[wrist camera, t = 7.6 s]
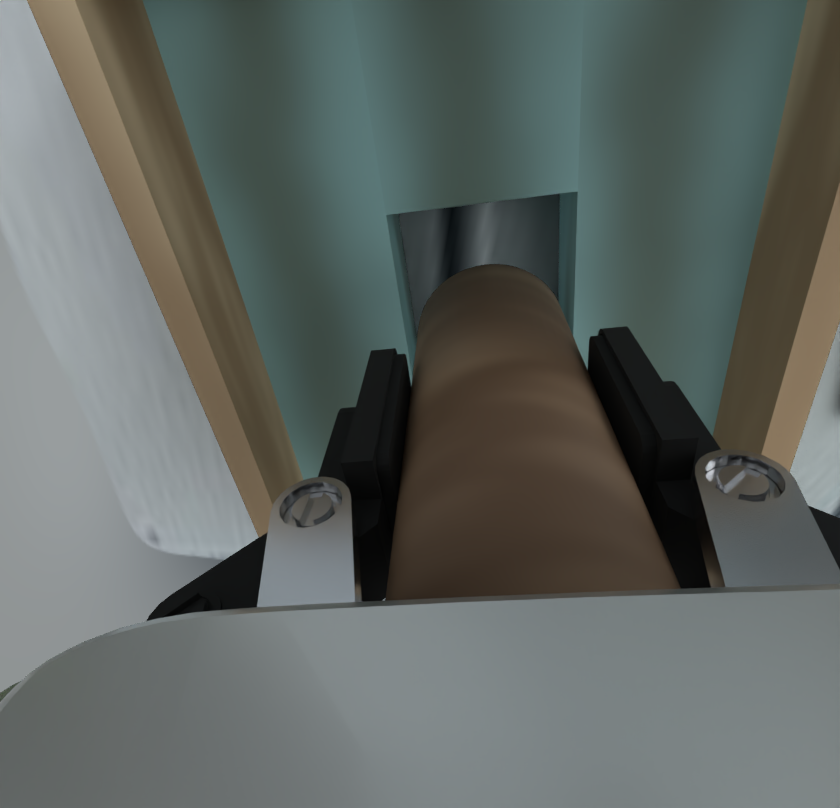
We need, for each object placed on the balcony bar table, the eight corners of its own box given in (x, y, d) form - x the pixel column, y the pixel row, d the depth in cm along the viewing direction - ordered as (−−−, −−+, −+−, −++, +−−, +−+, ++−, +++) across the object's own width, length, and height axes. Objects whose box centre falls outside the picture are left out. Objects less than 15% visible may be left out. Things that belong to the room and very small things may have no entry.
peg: (564, 255, 13) (753, 593, 5) (562, 389, 15) (690, 779, 7) (408, 272, 14) (343, 608, 5) (427, 400, 16) (401, 779, 8)
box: (821, -175, 13) (1051, -315, 8) (695, 455, 24) (759, 561, 19) (141, -45, 15) (-12, -91, 10) (311, 480, 26) (278, 582, 21)
